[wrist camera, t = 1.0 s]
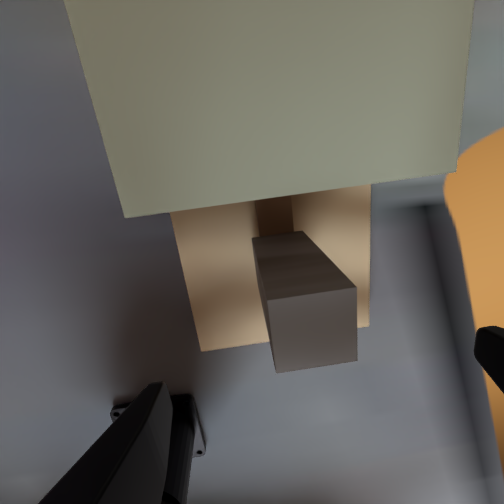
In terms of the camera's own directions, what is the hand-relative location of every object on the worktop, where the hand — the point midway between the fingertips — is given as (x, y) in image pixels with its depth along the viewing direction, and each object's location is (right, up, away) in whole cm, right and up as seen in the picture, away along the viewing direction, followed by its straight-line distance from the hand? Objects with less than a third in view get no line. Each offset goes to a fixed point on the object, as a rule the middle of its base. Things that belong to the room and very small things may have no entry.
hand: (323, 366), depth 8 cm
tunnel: (-1, +11, +7) cm, 13 cm away
